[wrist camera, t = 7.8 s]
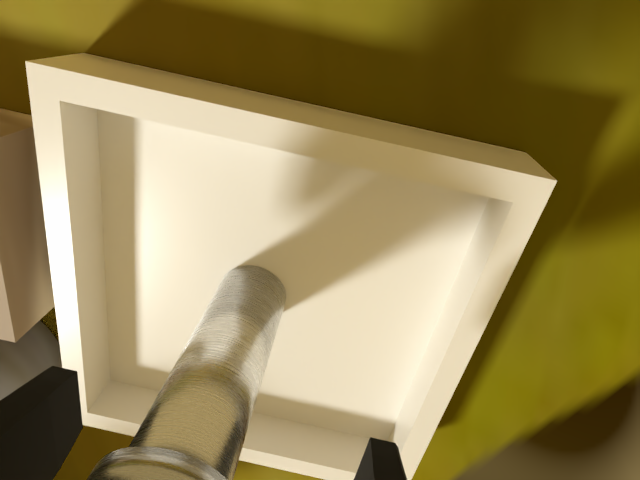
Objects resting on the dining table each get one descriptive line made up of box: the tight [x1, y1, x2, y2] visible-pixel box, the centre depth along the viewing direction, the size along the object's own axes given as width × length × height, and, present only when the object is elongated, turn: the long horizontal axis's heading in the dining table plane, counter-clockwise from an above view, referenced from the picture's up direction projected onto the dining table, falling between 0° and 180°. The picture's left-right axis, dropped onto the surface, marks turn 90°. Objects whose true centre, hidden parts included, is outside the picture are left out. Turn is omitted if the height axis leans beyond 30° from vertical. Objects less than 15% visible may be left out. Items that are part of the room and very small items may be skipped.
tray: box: [25, 53, 557, 480], centre depth 15 cm, size 14×14×2 cm
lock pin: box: [87, 265, 286, 480], centre depth 12 cm, size 3×3×8 cm
